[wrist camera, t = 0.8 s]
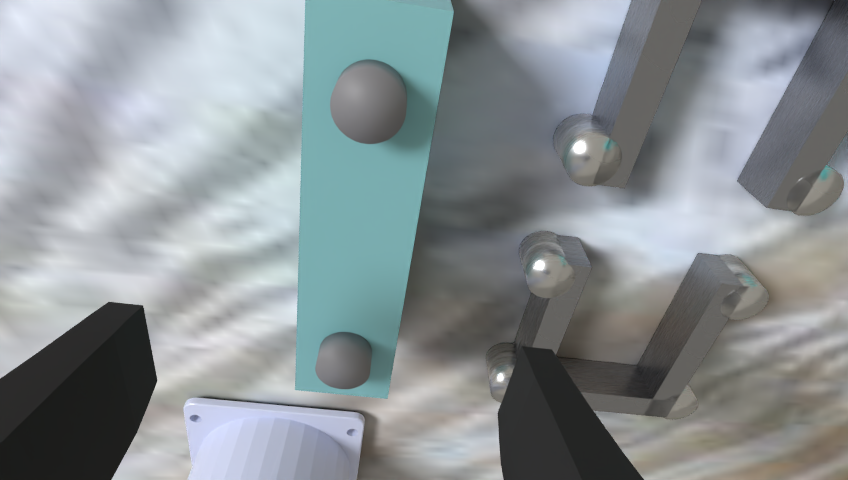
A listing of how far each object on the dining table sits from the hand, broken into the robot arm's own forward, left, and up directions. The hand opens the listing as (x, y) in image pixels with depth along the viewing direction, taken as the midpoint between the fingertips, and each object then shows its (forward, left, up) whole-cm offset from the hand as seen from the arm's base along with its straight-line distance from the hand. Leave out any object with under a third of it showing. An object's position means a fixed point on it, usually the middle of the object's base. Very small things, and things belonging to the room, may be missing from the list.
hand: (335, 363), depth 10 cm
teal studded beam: (0, 0, -9) cm, 9 cm away
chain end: (-5, -10, -8) cm, 14 cm away
